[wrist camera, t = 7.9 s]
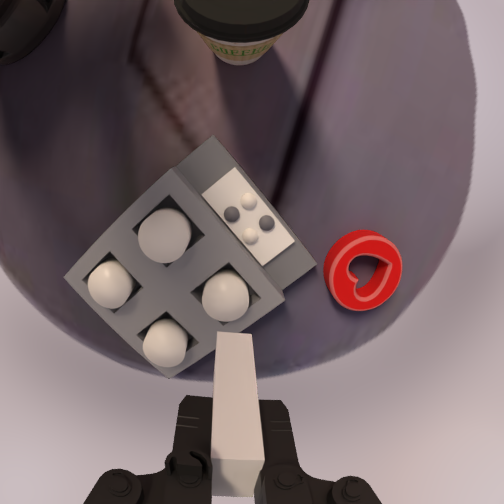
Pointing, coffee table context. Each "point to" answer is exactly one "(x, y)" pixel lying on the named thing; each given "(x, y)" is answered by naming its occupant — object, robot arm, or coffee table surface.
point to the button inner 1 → (111, 284)
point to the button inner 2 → (165, 235)
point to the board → (197, 253)
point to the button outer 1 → (165, 343)
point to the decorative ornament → (345, 281)
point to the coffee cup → (240, 25)
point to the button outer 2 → (225, 295)
